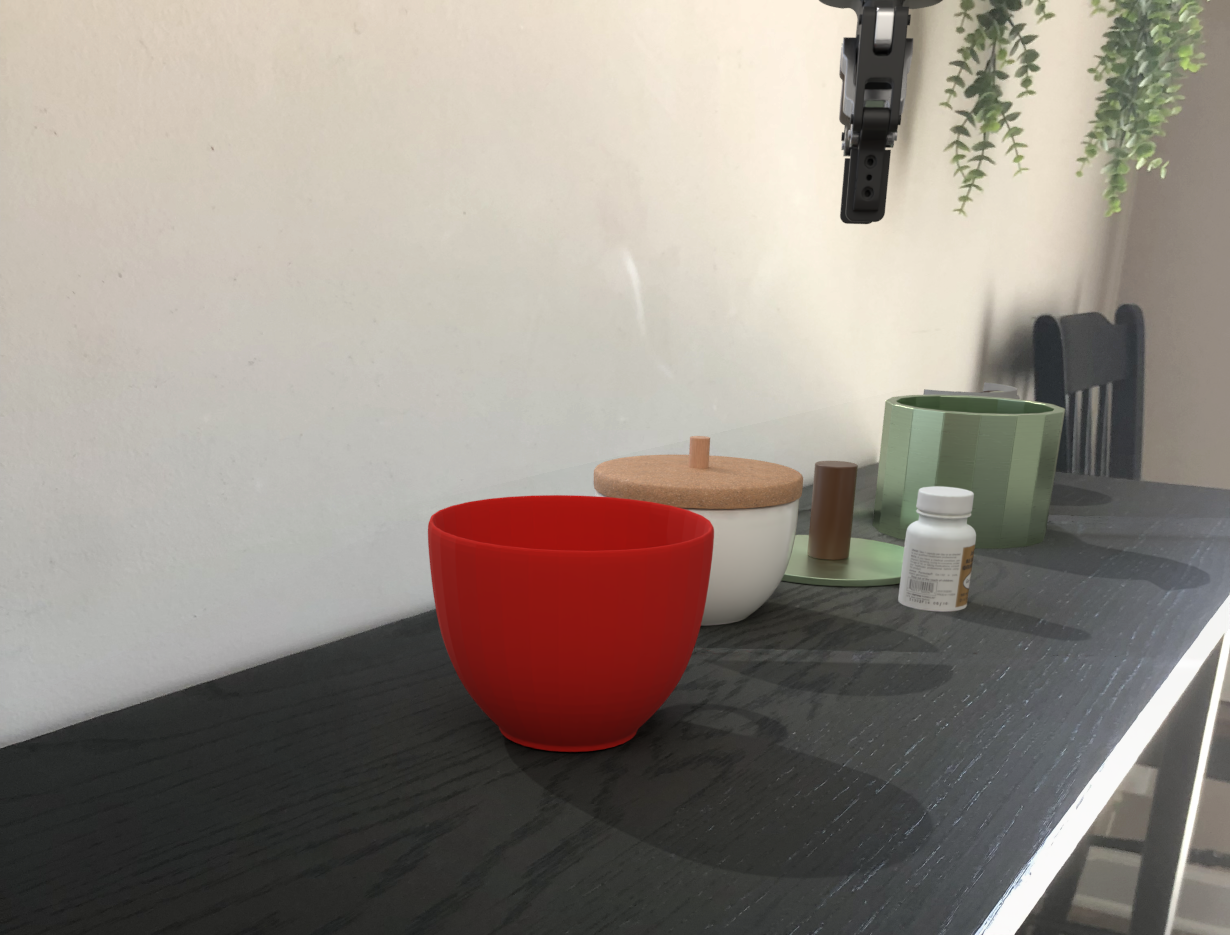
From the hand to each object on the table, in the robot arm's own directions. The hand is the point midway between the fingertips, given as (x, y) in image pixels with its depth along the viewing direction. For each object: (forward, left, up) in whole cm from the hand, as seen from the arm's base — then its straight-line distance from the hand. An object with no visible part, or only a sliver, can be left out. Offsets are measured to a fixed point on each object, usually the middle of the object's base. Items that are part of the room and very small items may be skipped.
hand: (860, 222), depth 80 cm
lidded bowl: (+10, +6, -23) cm, 26 cm away
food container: (-20, -39, -23) cm, 50 cm away
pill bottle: (-6, +3, -23) cm, 24 cm away
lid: (-1, -8, -22) cm, 24 cm away
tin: (-14, -21, -23) cm, 34 cm away
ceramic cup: (+17, +25, -23) cm, 38 cm away
